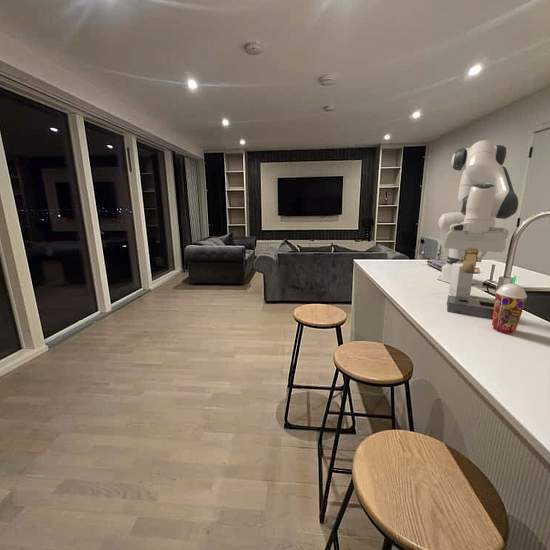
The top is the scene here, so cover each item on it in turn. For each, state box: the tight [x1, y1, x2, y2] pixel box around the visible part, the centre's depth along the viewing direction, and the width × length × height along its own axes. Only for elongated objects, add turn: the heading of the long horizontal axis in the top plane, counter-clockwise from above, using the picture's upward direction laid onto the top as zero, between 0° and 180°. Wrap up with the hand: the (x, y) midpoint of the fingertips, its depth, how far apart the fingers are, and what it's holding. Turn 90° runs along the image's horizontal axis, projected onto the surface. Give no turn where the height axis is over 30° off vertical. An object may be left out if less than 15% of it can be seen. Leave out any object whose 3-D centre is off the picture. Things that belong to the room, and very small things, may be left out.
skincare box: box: [448, 263, 474, 298], centre depth 135 cm, size 8×7×16 cm
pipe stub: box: [462, 248, 480, 274], centre depth 114 cm, size 5×5×10 cm
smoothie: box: [491, 275, 528, 335], centre depth 98 cm, size 8×8×20 cm
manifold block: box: [446, 294, 495, 320], centre depth 116 cm, size 11×20×4 cm, turn 60°
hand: (470, 261), depth 114 cm, fingers closed on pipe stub, 4 cm apart
